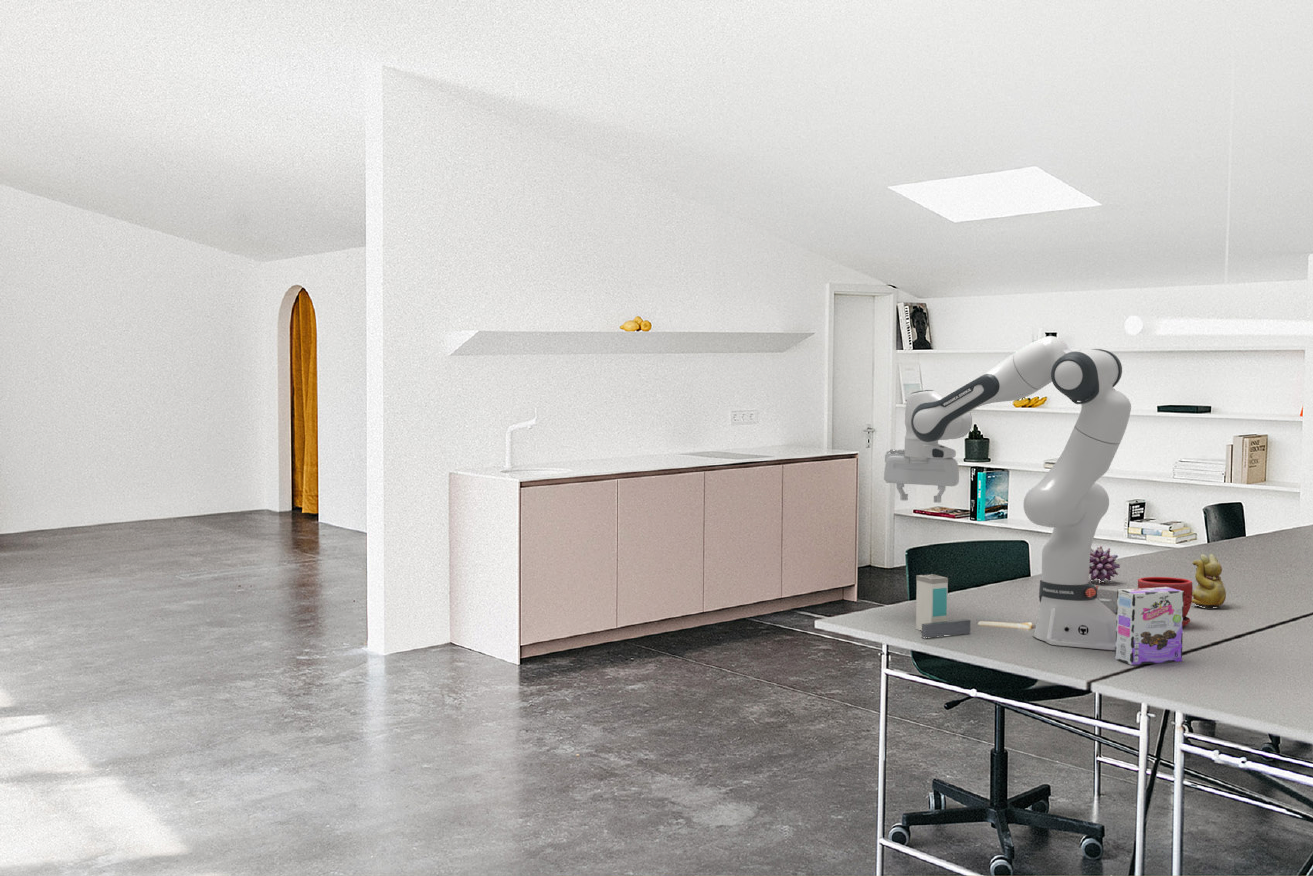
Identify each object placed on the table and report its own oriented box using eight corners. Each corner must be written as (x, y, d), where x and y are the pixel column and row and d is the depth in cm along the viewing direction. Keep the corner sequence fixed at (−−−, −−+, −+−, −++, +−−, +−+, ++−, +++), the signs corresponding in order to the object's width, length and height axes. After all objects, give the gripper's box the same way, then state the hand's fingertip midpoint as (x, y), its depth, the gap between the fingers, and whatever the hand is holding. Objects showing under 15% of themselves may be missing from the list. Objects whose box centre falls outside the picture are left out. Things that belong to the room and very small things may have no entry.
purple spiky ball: (1079, 585, 356) (1080, 547, 356) (1081, 579, 367) (1081, 542, 367) (1119, 588, 352) (1120, 549, 351) (1119, 581, 363) (1120, 544, 362)
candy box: (1131, 665, 255) (1133, 592, 254) (1114, 659, 261) (1115, 588, 260) (1183, 662, 259) (1185, 590, 258) (1165, 656, 264) (1166, 585, 263)
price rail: (921, 637, 283) (921, 623, 282) (965, 632, 289) (965, 618, 288) (925, 639, 281) (925, 625, 281) (970, 633, 287) (970, 619, 287)
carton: (931, 628, 294) (932, 574, 293) (947, 632, 288) (948, 577, 287) (915, 629, 292) (916, 575, 291) (931, 634, 286) (932, 579, 285)
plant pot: (1195, 623, 300) (1196, 578, 300) (1186, 632, 289) (1187, 585, 289) (1142, 617, 308) (1143, 573, 307) (1132, 626, 297) (1133, 580, 296)
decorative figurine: (1204, 603, 328) (1205, 551, 327) (1233, 607, 321) (1234, 554, 320) (1186, 607, 322) (1187, 554, 321) (1215, 611, 315) (1216, 557, 315)
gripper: (880, 449, 311) (879, 500, 311) (953, 452, 299) (952, 504, 300) (889, 448, 316) (889, 498, 316) (961, 451, 304) (960, 502, 305)
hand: (920, 501), depth 308 cm, fingers open, 8 cm apart
